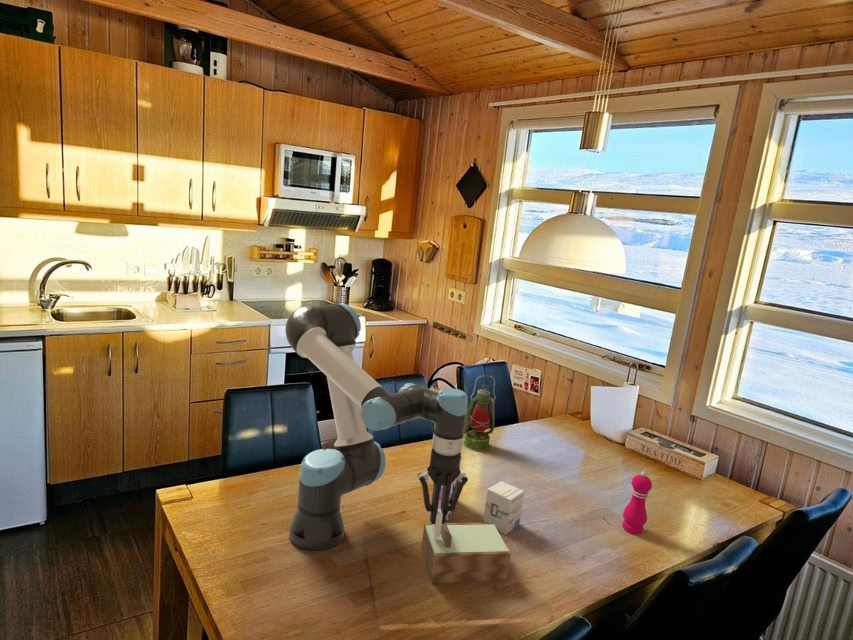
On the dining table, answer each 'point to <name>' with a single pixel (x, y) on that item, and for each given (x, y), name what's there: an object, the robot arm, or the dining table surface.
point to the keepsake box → (464, 563)
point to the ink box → (503, 506)
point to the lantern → (479, 420)
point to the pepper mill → (637, 505)
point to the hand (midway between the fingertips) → (435, 534)
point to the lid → (466, 539)
